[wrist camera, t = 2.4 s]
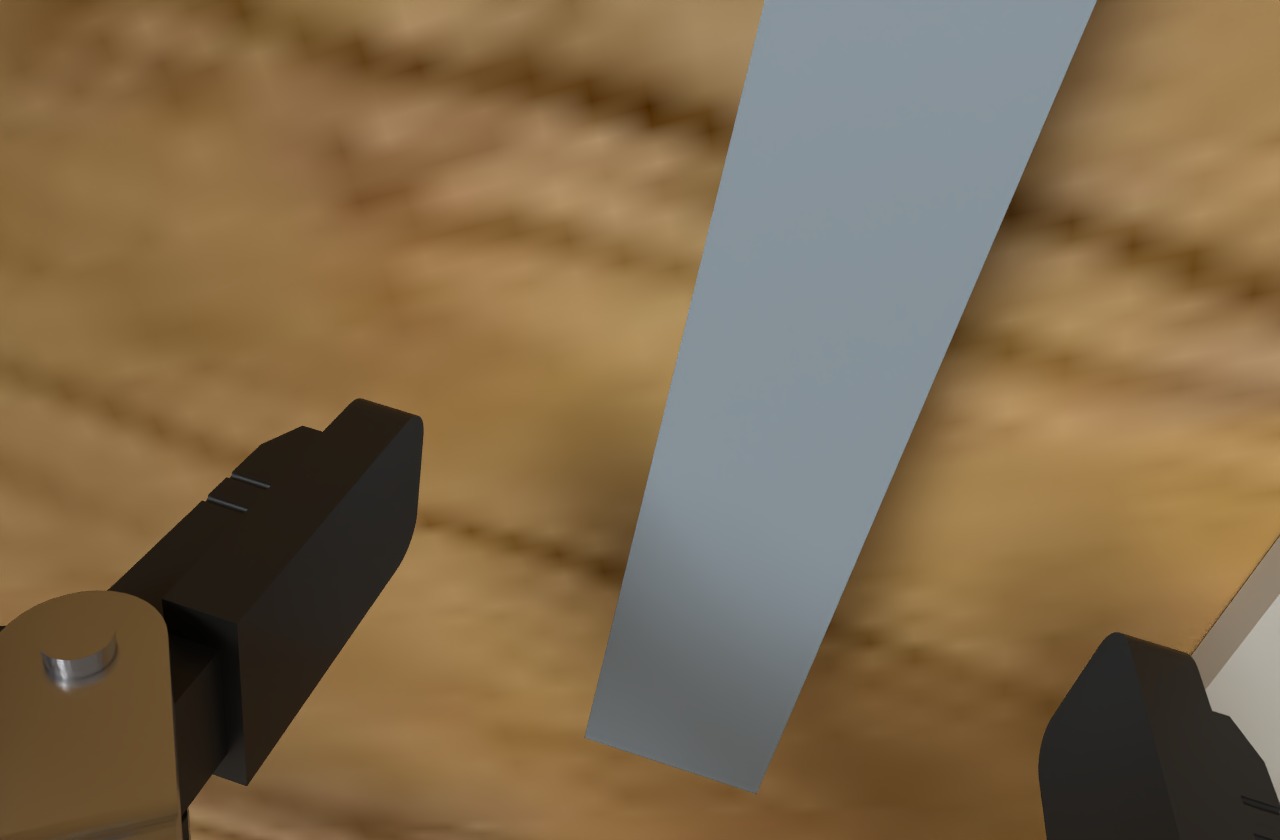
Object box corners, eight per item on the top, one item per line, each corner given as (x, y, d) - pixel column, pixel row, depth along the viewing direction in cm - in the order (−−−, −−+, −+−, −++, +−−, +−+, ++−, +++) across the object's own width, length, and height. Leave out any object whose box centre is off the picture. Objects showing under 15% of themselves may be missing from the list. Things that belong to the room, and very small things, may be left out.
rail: (890, -396, 13) (882, -478, 9) (1162, -340, 12) (1267, -398, 9) (637, 585, 23) (584, 737, 19) (782, 630, 22) (756, 793, 19)
